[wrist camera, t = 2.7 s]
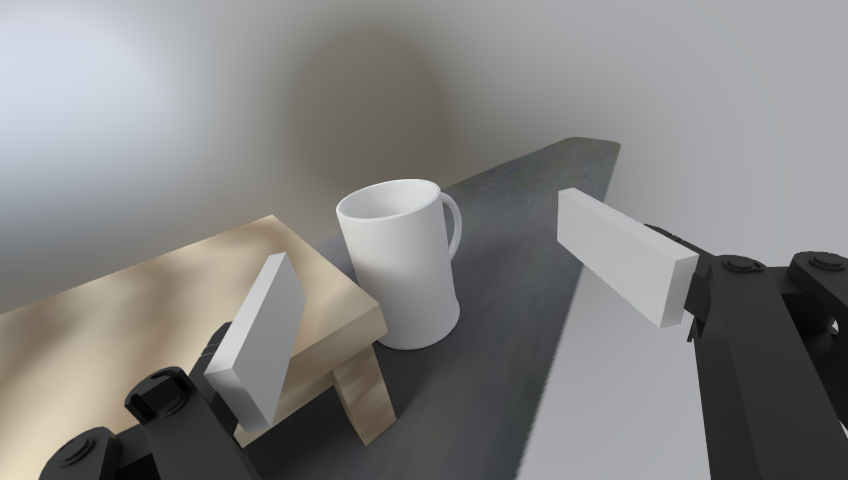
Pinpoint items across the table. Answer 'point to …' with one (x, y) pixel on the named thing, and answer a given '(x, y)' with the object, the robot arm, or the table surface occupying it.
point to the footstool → (178, 342)
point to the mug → (404, 257)
